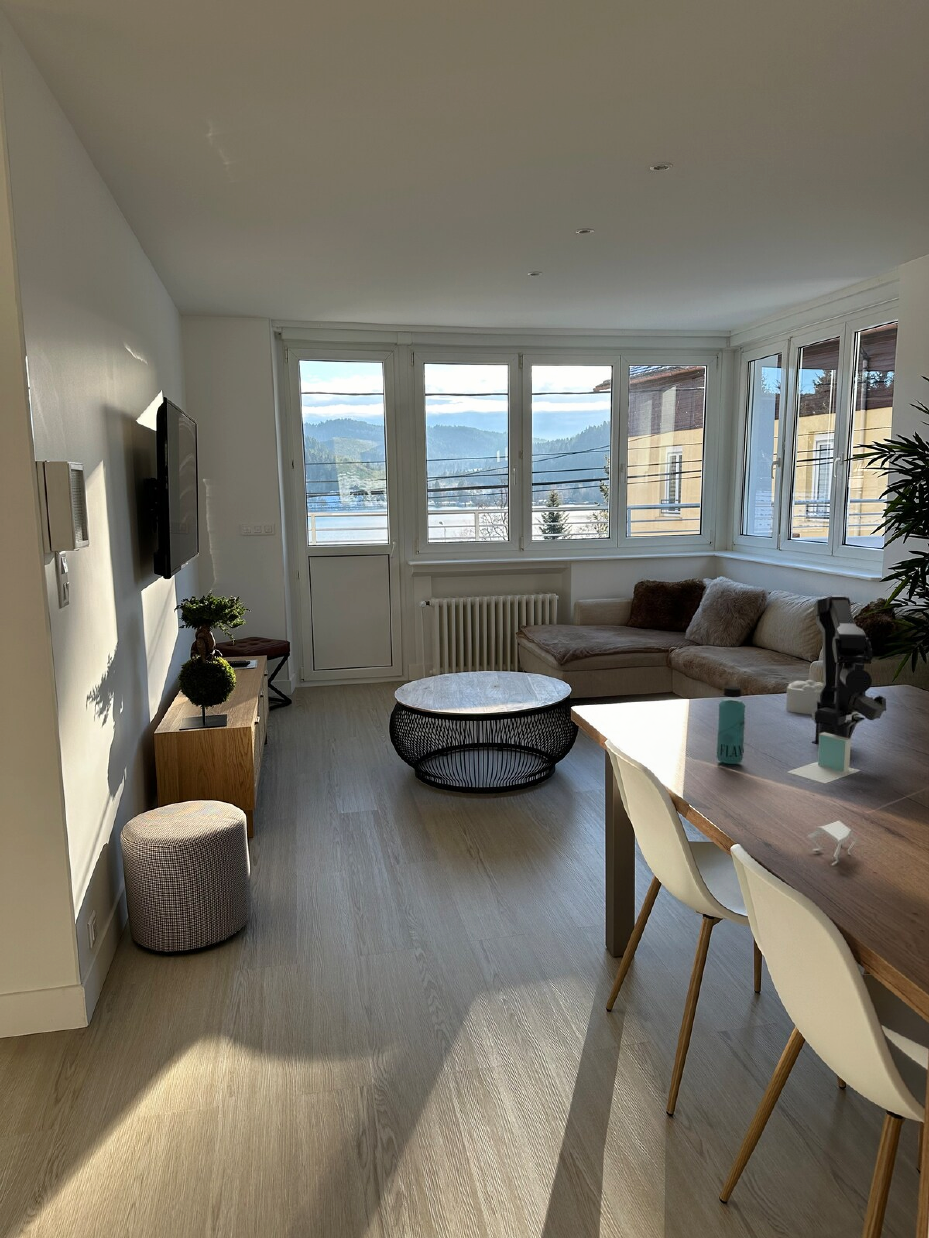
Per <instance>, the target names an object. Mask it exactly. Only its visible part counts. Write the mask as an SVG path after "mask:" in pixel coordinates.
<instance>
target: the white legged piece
mask: <svg viewBox="0 0 929 1238" xmlns="http://www.w3.org/2000/svg"><path fill="white" fill-rule="evenodd" d="M852 832H853V831H852V829H850V828H849V827H847V826H846V825H845V824H844V823H843V822H842V821H841V820H837V821H834V822H832V823H829V824H825V825H822V826H820V825H817V830H815V831H813V832H811V833H809V834H808V835H807V836H806V837H807V838H808V839H809V840H811V842H813V844H814V845H816V846H817V848H812V851H814V852H816V851H818V852H819V851H821V850H823V847H821V845H820V844H819V843H818V842H817V841H816V840H815V839H814V838H816V837H818V836H820V835H822V834H824V835H826V836H828V837H829V838H830V839H832V840H834V842H836V843H838V845H837V847H836V850H835V852H834V854H833V857H834V859H835V861H834V862H832V863H831V866H835V865H836V864H838V863H839V859H838V856H839V853H840V850H841V847H842V846H841V845H843V844H844V843H845V842H847V841H848V840H849V839H850V836H851V838H852V839H853V840H852V842H851V844H850V845H849V847H848V849H847V851H846V852H847V853H848V855H851V853H850V850H851V849H852V848H853V846H854V845H855V844H856V843H857V841H858V839H856V837H855V836H854V834H853V833H852Z"/></svg>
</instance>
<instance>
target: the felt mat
mask: <svg viewBox="0 0 929 1238" xmlns="http://www.w3.org/2000/svg"><path fill="white" fill-rule="evenodd" d="M861 771H862V770H860V769H856V768H853V767H850V766H849V771H847V772H845V773H844V772H841V771H837V770H834V769H830V768H827V767H823V766H820V765H818V761H815V762H813V763H809V764H806V765H803V766H800V767H797V768H795V769H791V770H788V771H787V773H788V774H792V775H795V776H799V777H802V778H805V779H808V780H812V781H815V782H819V783H821V784H827V783H830V782H833V781H836V780H838V779H841V778H844V777H847V776H849V775H853V774H856V773H859V772H861Z"/></svg>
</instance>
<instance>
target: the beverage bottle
mask: <svg viewBox="0 0 929 1238" xmlns="http://www.w3.org/2000/svg"><path fill="white" fill-rule="evenodd" d="M723 688H724V690H723V696H724V697H727V698H726V699H725V698H724V699H723V700H721V701H720V702H719V703H718V727H717V728H718V729H717V730H718V731H717V735H716V736H717V738H716V739H717V742H716V743H717V745H716V753H715V754H716V756H715V757H716V759H717V761H719V762H721V763H725V764H730V765H731V764H733V765H734V764H735V765H736V764H740V763H742V762H743V760H744V754H745V751H744V750H745V748H744V741H745V740H744V739H745V736H744V734H745V730H746V729H745V726H746V720H745V719H746V718H745V712H746V705H745V704H744V702H743V701H742V700H740V699H736V698H740V697H742V689H741V687H740V686H734V685H727V686H725V687H723ZM728 697H729V698H728Z"/></svg>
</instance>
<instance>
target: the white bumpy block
mask: <svg viewBox="0 0 929 1238" xmlns="http://www.w3.org/2000/svg"><path fill="white" fill-rule="evenodd" d="M822 688H823V682H819V681H818V682H816V681H814V680H813V679H807V680H805V681H802V680H794V681H793V682H791V683H789V684H788V686H787V687H786V700H785V701H786V703H785V704H786V707H785V710H786V711H788V712H792V713H796V712H797V714H808V715H812V710H813V707H814V704H815V701H817V695H818V694H819V692H820V691H821V689H822Z"/></svg>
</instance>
